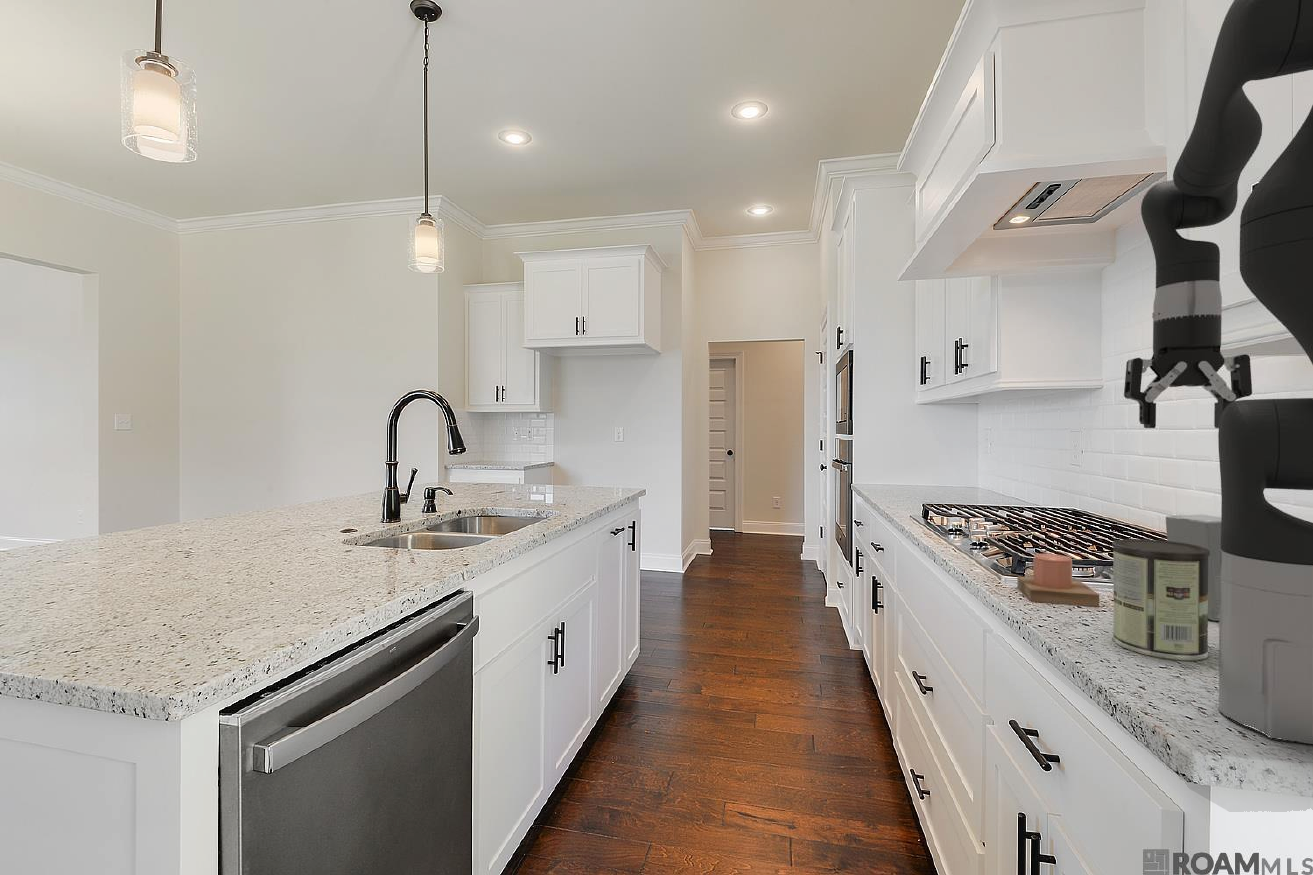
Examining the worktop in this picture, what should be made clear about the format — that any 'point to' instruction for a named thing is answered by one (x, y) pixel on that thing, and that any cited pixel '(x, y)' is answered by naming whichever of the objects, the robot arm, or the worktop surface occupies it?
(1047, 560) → the cap
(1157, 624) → the coffee can
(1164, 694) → the worktop surface
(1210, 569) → the skincare box
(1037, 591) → the peg block
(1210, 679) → the worktop surface
